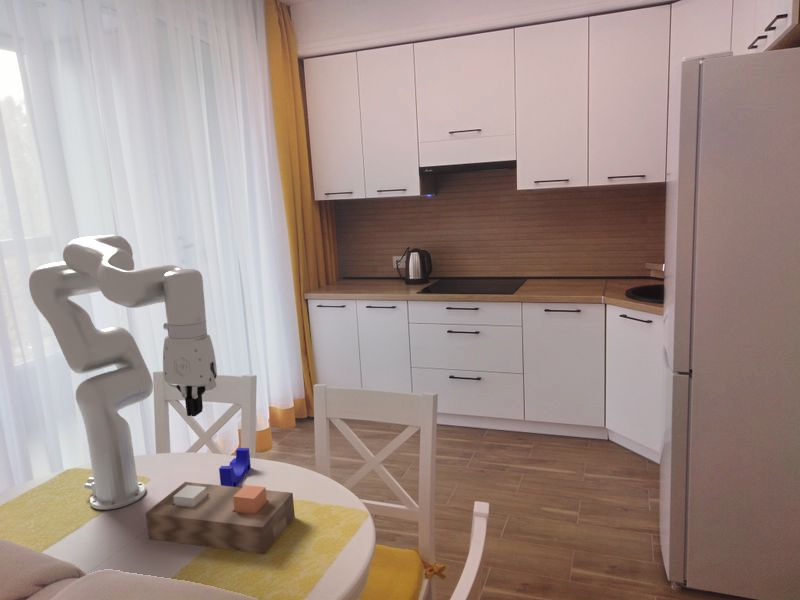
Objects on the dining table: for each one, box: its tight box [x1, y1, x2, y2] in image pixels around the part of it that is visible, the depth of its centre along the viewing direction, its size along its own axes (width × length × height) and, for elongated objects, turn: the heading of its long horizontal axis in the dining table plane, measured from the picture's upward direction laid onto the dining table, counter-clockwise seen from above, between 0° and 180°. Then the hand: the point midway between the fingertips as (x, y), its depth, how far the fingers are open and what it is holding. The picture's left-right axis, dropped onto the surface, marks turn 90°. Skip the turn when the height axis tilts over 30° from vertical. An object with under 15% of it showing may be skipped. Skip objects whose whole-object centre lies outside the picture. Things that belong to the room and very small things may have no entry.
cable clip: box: [218, 447, 252, 487], centre depth 153 cm, size 12×4×6 cm, turn 172°
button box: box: [144, 481, 296, 555], centre depth 130 cm, size 28×14×6 cm, turn 74°
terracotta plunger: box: [233, 484, 267, 515], centre depth 128 cm, size 5×5×8 cm
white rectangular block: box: [173, 485, 207, 508], centre depth 132 cm, size 5×5×8 cm
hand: (194, 413), depth 125 cm, fingers closed
